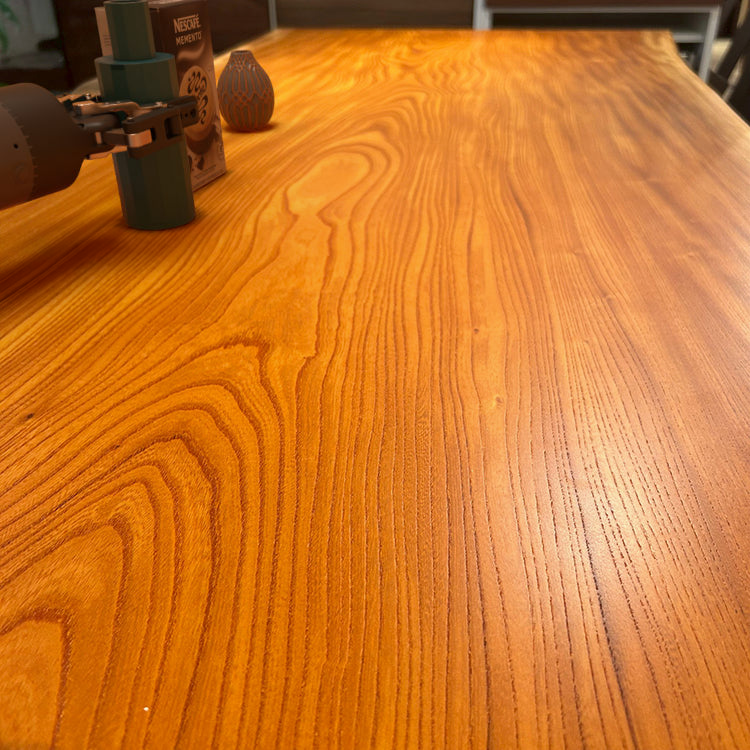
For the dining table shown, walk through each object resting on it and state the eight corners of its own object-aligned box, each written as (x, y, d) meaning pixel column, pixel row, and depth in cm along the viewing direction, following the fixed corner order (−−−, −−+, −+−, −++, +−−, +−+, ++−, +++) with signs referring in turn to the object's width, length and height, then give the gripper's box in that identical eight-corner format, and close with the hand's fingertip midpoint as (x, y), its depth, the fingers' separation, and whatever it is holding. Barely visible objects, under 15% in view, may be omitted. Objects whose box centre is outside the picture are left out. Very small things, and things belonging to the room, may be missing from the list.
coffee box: (185, 199, 71) (157, 6, 63) (125, 194, 73) (89, 6, 65) (229, 171, 79) (209, -4, 71) (173, 167, 81) (147, -4, 72)
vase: (232, 137, 91) (223, 57, 87) (212, 125, 97) (203, 50, 92) (285, 129, 94) (280, 52, 90) (263, 118, 100) (257, 45, 95)
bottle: (112, 228, 65) (68, 4, 56) (143, 205, 70) (107, -3, 61) (179, 231, 64) (145, 4, 55) (206, 208, 69) (178, -3, 60)
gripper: (51, 102, 47) (227, 62, 59) (-94, 85, 53) (93, 51, 66) (77, 222, 51) (237, 160, 63) (-61, 192, 57) (110, 141, 69)
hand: (163, 105), depth 64 cm, fingers closed on bottle, 6 cm apart
